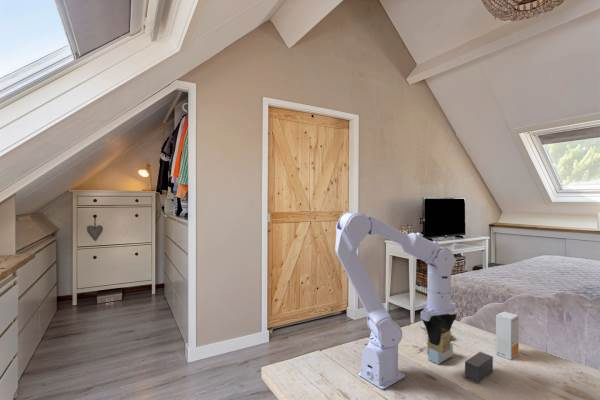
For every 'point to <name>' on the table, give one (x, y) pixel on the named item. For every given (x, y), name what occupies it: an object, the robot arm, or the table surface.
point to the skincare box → (507, 335)
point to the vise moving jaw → (439, 355)
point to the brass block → (442, 342)
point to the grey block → (478, 367)
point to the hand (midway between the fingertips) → (438, 341)
